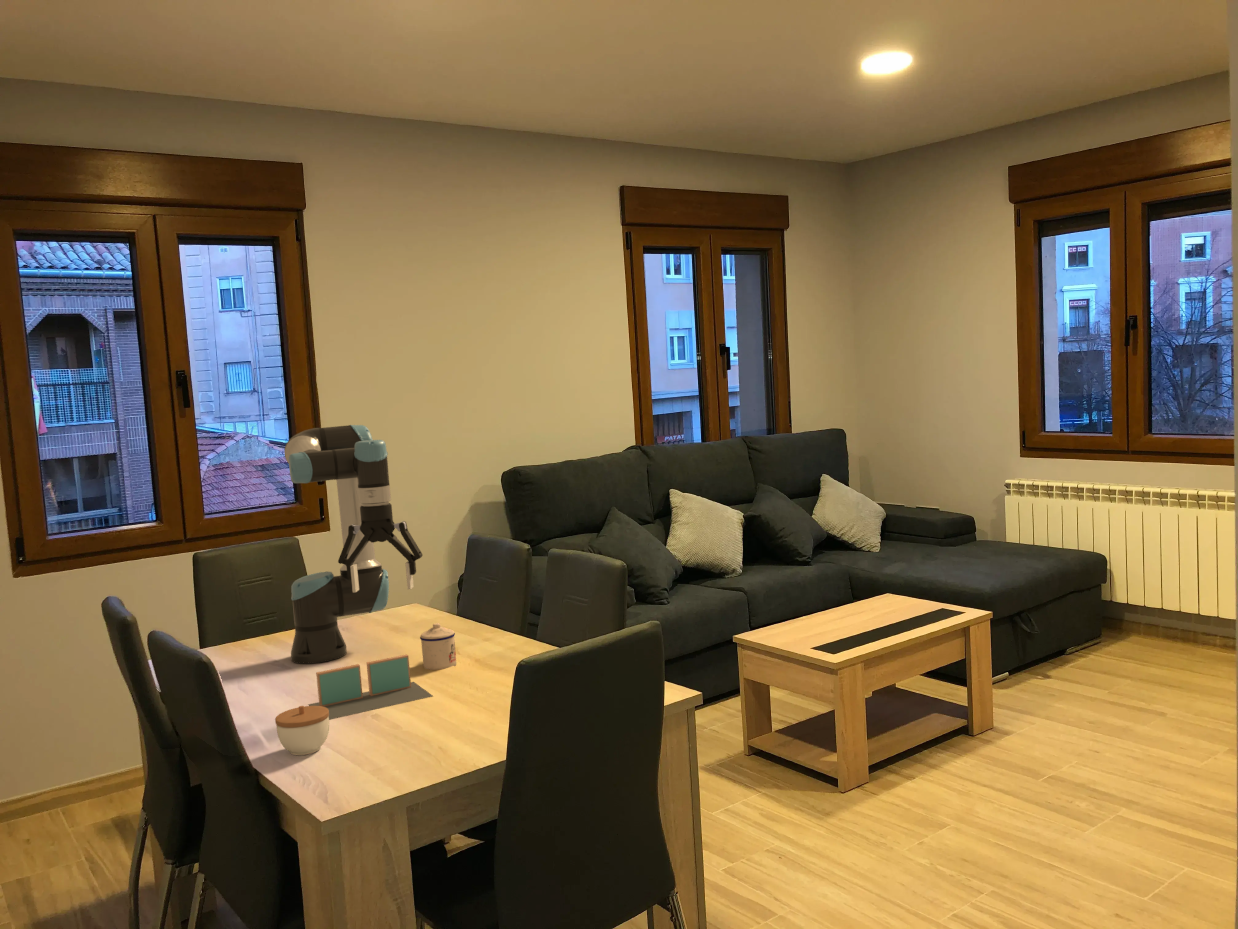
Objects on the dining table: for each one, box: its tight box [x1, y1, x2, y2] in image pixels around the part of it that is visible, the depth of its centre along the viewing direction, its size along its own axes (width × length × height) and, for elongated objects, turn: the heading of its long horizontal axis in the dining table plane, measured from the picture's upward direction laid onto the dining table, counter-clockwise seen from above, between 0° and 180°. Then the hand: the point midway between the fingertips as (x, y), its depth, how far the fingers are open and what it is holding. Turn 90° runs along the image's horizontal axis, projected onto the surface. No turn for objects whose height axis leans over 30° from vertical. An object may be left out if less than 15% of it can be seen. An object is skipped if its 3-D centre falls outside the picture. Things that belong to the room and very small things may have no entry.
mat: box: [307, 681, 434, 721], centre depth 238 cm, size 15×26×1 cm, turn 120°
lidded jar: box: [274, 705, 330, 756], centre depth 208 cm, size 11×11×9 cm
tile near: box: [315, 663, 363, 707], centre depth 238 cm, size 2×10×8 cm, turn 120°
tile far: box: [366, 653, 412, 696], centre depth 244 cm, size 2×10×8 cm, turn 120°
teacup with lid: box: [419, 622, 457, 671], centre depth 265 cm, size 12×9×12 cm
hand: (383, 589), depth 244 cm, fingers open, 13 cm apart
